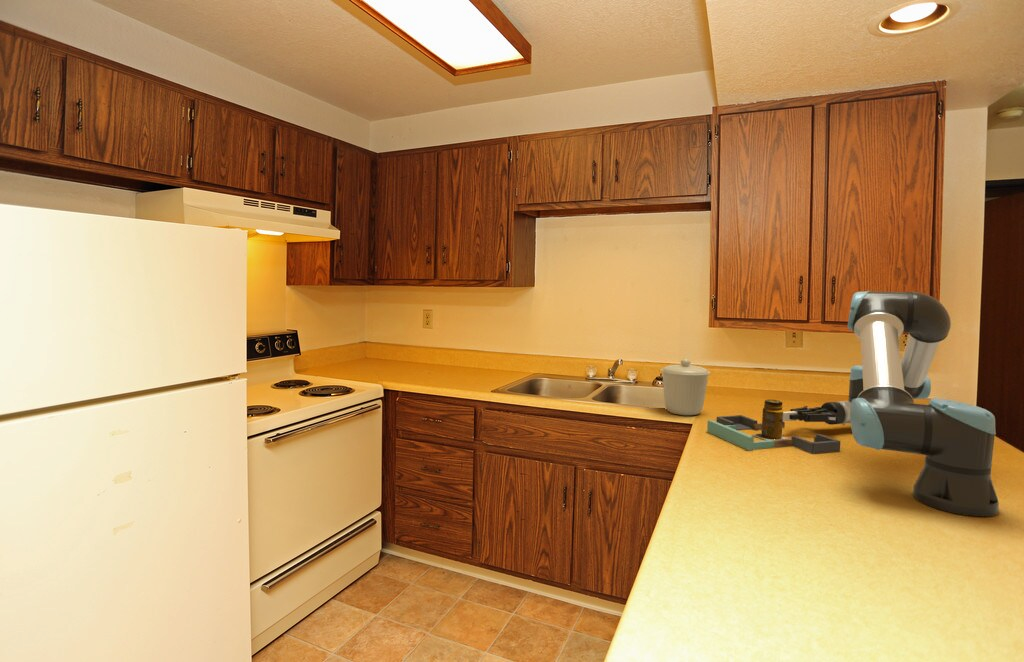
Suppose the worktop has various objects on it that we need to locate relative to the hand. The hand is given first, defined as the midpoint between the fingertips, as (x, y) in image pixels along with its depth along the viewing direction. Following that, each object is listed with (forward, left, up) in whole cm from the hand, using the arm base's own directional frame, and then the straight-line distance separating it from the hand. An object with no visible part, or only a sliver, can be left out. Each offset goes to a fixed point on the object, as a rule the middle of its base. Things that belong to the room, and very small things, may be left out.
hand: (779, 416), depth 176 cm
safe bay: (-9, +13, -6) cm, 17 cm away
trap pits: (-2, +2, -6) cm, 7 cm away
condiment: (-3, +3, -7) cm, 8 cm away
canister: (+24, +29, -7) cm, 38 cm away
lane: (-1, 0, -6) cm, 7 cm away
